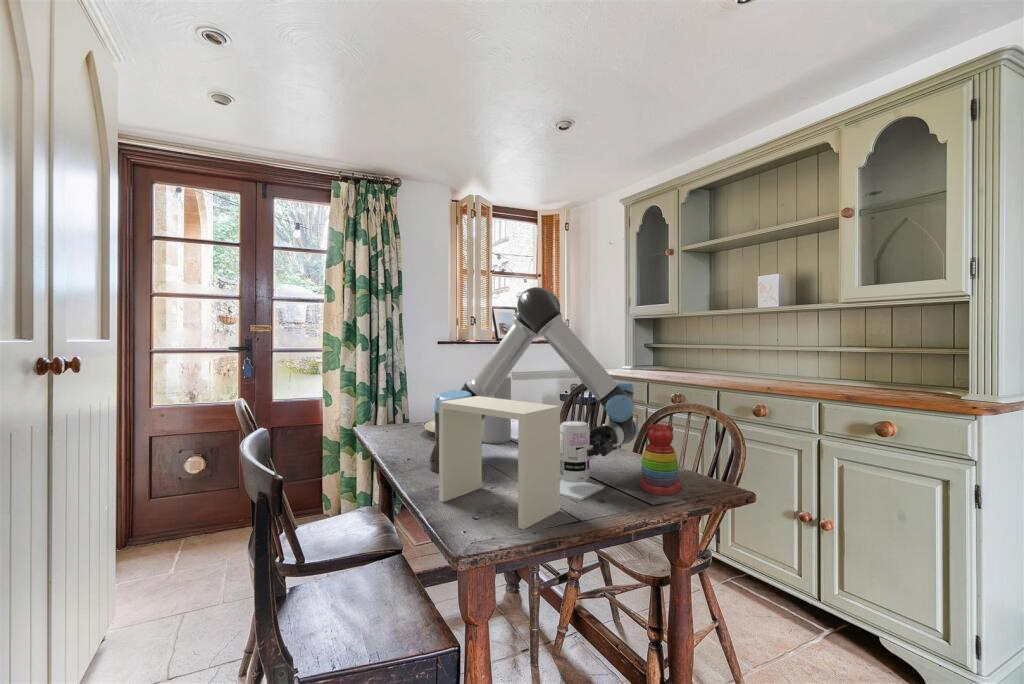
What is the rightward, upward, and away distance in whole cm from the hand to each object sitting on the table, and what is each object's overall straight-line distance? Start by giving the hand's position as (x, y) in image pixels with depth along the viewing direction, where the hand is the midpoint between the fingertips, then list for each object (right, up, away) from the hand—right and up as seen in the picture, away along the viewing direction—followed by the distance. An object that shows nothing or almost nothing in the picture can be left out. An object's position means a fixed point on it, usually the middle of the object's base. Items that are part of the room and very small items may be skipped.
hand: (564, 452), depth 123 cm
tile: (+3, -11, +4) cm, 12 cm away
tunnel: (-17, -11, -8) cm, 22 cm away
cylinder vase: (-21, -10, +61) cm, 65 cm away
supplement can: (+3, -8, +4) cm, 9 cm away
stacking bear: (+26, -11, +4) cm, 29 cm away
